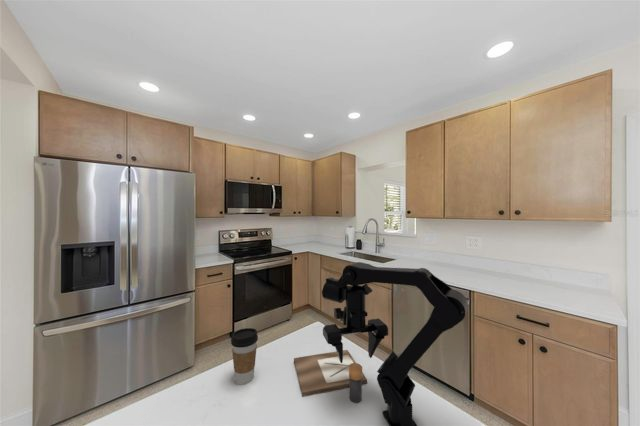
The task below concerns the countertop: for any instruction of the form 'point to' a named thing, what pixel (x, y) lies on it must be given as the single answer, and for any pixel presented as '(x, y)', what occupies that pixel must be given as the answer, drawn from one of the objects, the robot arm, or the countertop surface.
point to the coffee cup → (244, 354)
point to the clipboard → (324, 372)
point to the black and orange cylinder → (355, 382)
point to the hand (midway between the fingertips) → (355, 359)
